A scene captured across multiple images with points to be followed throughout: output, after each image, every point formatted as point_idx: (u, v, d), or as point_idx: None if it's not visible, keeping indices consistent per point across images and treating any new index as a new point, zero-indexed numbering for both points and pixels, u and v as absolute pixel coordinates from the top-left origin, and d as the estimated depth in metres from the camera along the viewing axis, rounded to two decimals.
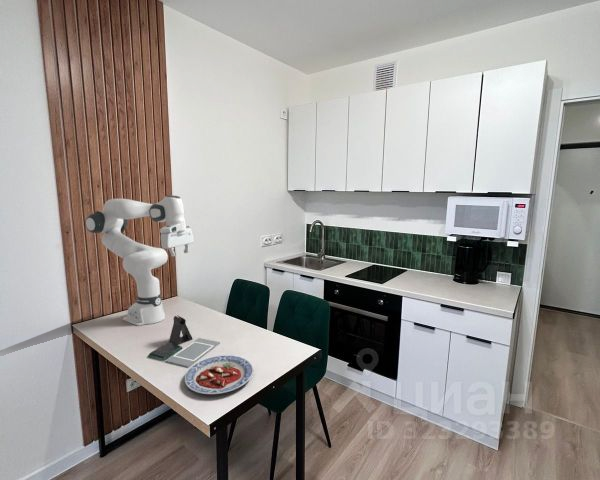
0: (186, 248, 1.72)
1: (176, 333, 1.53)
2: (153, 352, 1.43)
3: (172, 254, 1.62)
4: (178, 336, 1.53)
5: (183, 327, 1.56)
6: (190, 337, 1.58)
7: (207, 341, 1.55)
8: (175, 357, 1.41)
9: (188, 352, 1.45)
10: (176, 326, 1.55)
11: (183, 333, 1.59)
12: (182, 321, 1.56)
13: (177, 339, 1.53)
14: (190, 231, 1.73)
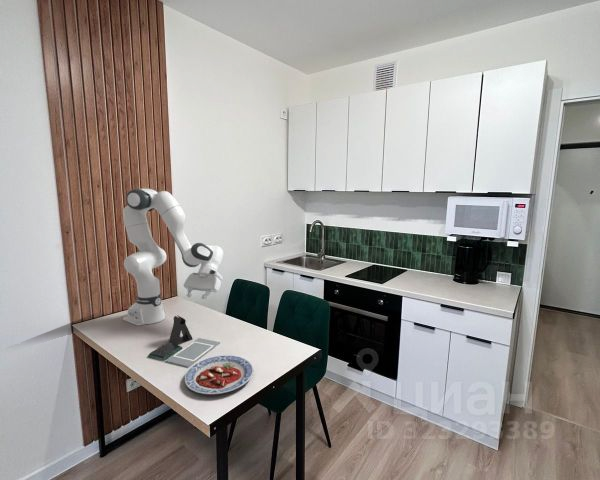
0: (189, 292, 1.69)
1: (176, 333, 1.53)
2: (153, 352, 1.43)
3: (205, 296, 1.64)
4: (178, 336, 1.53)
5: (183, 327, 1.56)
6: (190, 337, 1.58)
7: (207, 341, 1.55)
8: (175, 357, 1.41)
9: (188, 352, 1.45)
10: (176, 326, 1.55)
11: (183, 333, 1.59)
12: (182, 321, 1.56)
13: (177, 339, 1.53)
14: None
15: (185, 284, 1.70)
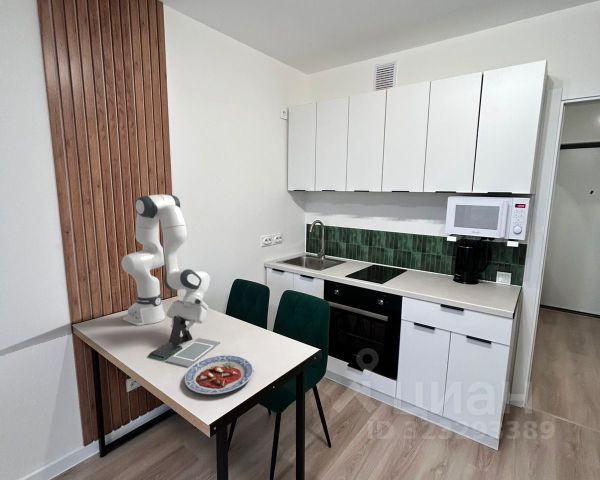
0: None
1: (176, 333, 1.53)
2: (153, 352, 1.43)
3: (188, 328, 1.55)
4: (178, 336, 1.53)
5: (183, 327, 1.56)
6: (190, 337, 1.58)
7: (207, 341, 1.55)
8: (175, 357, 1.41)
9: (188, 352, 1.45)
10: (176, 326, 1.55)
11: (183, 333, 1.59)
12: (182, 321, 1.56)
13: (177, 339, 1.53)
14: None
15: (168, 313, 1.60)
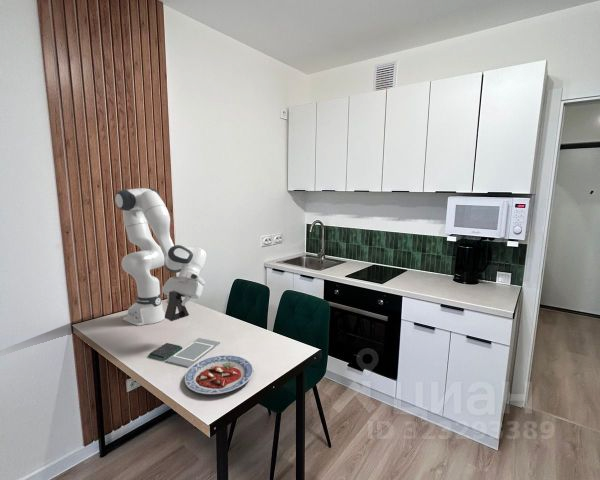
0: None
1: (172, 308, 1.49)
2: (153, 352, 1.43)
3: (184, 303, 1.50)
4: (174, 311, 1.49)
5: (179, 302, 1.52)
6: (186, 313, 1.53)
7: (207, 341, 1.55)
8: (175, 357, 1.41)
9: (188, 352, 1.45)
10: (172, 301, 1.50)
11: (179, 309, 1.55)
12: (178, 296, 1.51)
13: (173, 314, 1.48)
14: None
15: (163, 289, 1.56)
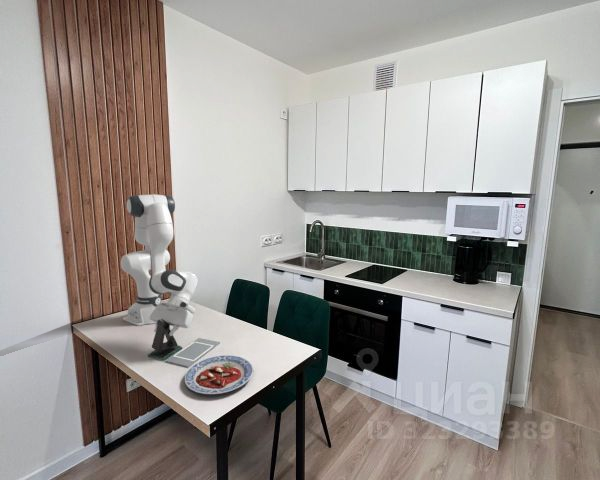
0: None
1: (159, 338, 1.42)
2: (153, 352, 1.43)
3: (172, 333, 1.43)
4: (161, 342, 1.42)
5: (167, 332, 1.45)
6: (175, 343, 1.46)
7: (207, 341, 1.55)
8: (175, 357, 1.41)
9: (188, 352, 1.45)
10: (159, 331, 1.43)
11: (167, 338, 1.48)
12: (166, 325, 1.44)
13: (160, 345, 1.41)
14: None
15: (151, 316, 1.49)
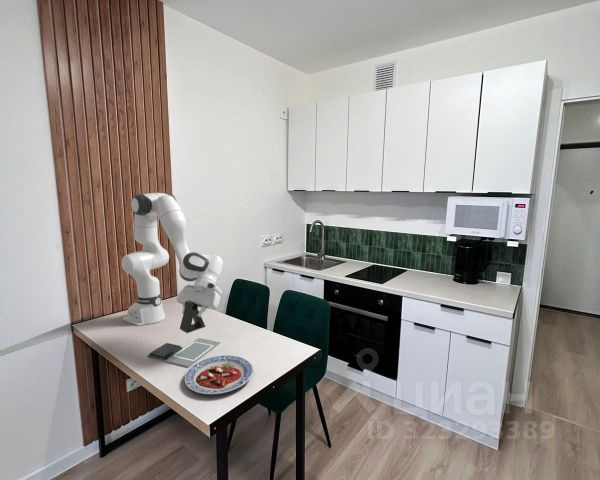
0: None
1: (188, 319, 1.41)
2: (153, 352, 1.43)
3: (200, 314, 1.42)
4: (190, 322, 1.40)
5: (195, 313, 1.43)
6: (202, 324, 1.45)
7: (207, 341, 1.55)
8: (175, 357, 1.41)
9: (188, 352, 1.45)
10: (188, 312, 1.42)
11: (195, 320, 1.47)
12: (194, 306, 1.43)
13: (189, 326, 1.40)
14: None
15: (178, 298, 1.48)
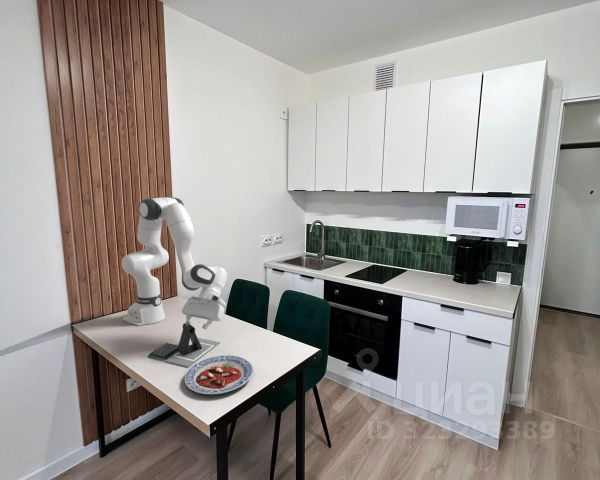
0: (188, 320, 1.50)
1: (185, 342, 1.43)
2: (153, 352, 1.43)
3: (206, 326, 1.46)
4: (187, 345, 1.43)
5: (192, 335, 1.46)
6: (199, 346, 1.48)
7: (207, 341, 1.55)
8: (175, 357, 1.41)
9: None
10: (185, 334, 1.45)
11: (192, 341, 1.49)
12: (191, 329, 1.46)
13: (185, 348, 1.43)
14: None
15: (183, 310, 1.52)
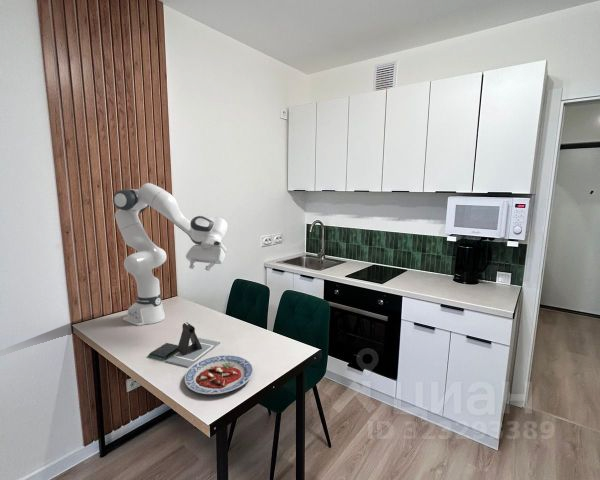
0: (192, 264, 1.62)
1: (185, 342, 1.44)
2: (153, 352, 1.43)
3: (209, 268, 1.58)
4: (187, 345, 1.43)
5: (192, 335, 1.46)
6: (199, 346, 1.48)
7: (207, 341, 1.55)
8: (175, 357, 1.41)
9: None
10: (185, 334, 1.45)
11: (192, 341, 1.49)
12: (191, 329, 1.46)
13: (185, 348, 1.43)
14: None
15: (187, 255, 1.64)
